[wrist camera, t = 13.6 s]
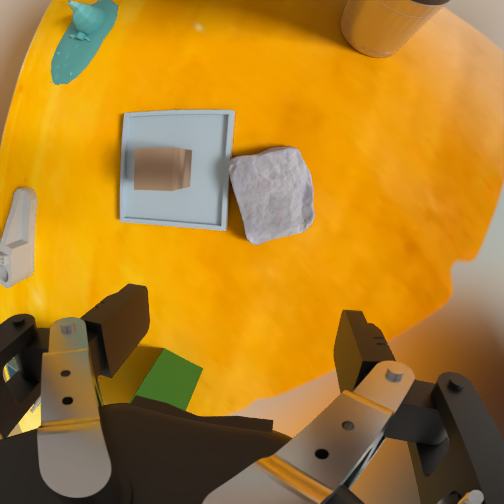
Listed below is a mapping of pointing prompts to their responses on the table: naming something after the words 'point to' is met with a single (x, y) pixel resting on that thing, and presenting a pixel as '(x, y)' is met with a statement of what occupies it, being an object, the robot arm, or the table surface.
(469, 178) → the table surface
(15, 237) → the sloped support bracket
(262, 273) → the table surface
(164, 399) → the hardback book
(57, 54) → the diorama
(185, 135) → the dish
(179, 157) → the walnut block
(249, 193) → the stone block
